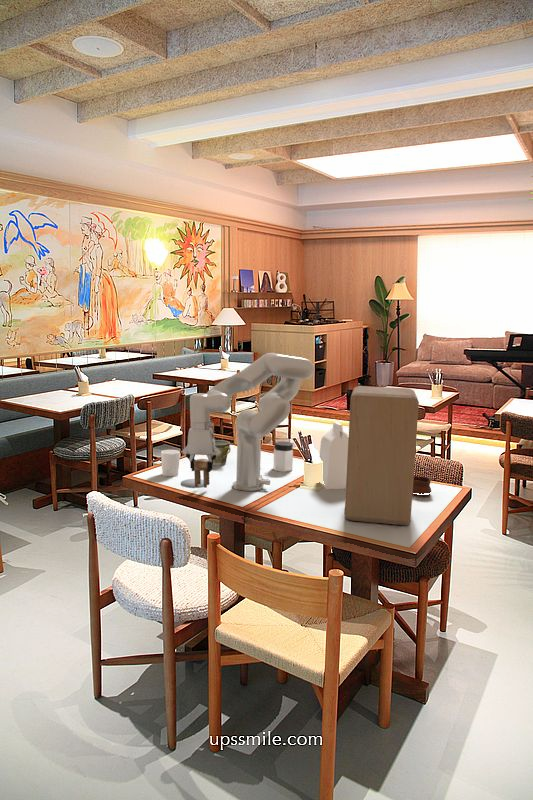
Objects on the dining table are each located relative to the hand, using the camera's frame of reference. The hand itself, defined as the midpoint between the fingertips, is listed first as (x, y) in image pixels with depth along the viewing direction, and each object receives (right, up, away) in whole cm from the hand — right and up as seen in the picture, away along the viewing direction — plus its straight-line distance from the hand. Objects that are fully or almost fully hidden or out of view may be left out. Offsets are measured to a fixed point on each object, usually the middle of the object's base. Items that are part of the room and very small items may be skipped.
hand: (201, 470), depth 241 cm
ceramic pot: (+87, -11, +7) cm, 88 cm away
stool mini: (0, -6, +1) cm, 6 cm away
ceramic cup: (+4, -2, +43) cm, 43 cm away
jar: (+33, -4, +38) cm, 50 cm away
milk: (+54, -8, +16) cm, 57 cm away
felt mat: (-4, -7, +11) cm, 14 cm away
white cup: (-16, -5, +24) cm, 29 cm away
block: (+65, -14, -19) cm, 69 cm away
